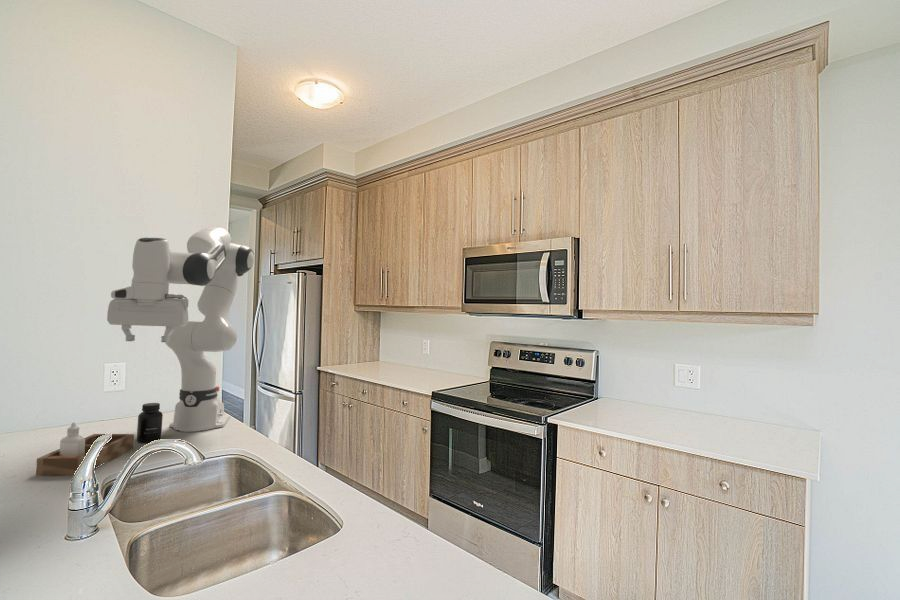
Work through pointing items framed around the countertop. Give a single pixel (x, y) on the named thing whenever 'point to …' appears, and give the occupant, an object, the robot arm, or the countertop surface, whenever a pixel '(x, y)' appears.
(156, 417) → the supplement bottle
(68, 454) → the eye dropper bottle
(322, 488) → the countertop surface
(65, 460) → the wooden divided tray
